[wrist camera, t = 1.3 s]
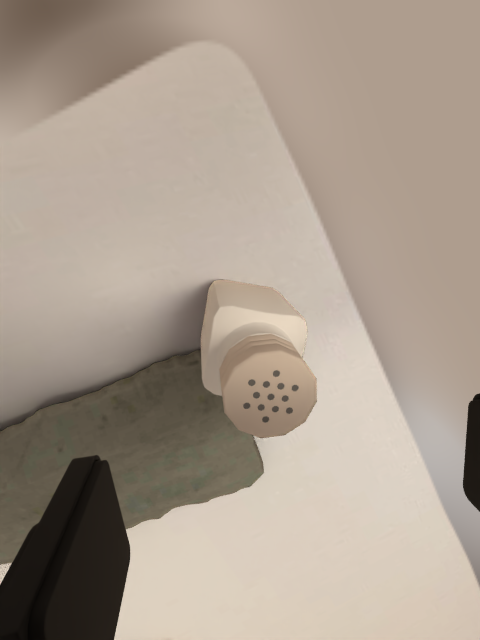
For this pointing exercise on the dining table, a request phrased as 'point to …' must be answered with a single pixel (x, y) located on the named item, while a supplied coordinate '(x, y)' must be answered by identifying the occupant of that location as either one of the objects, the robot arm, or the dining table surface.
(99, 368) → the dining table surface
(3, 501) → the stone slab
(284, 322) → the pepper shaker
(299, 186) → the dining table surface
